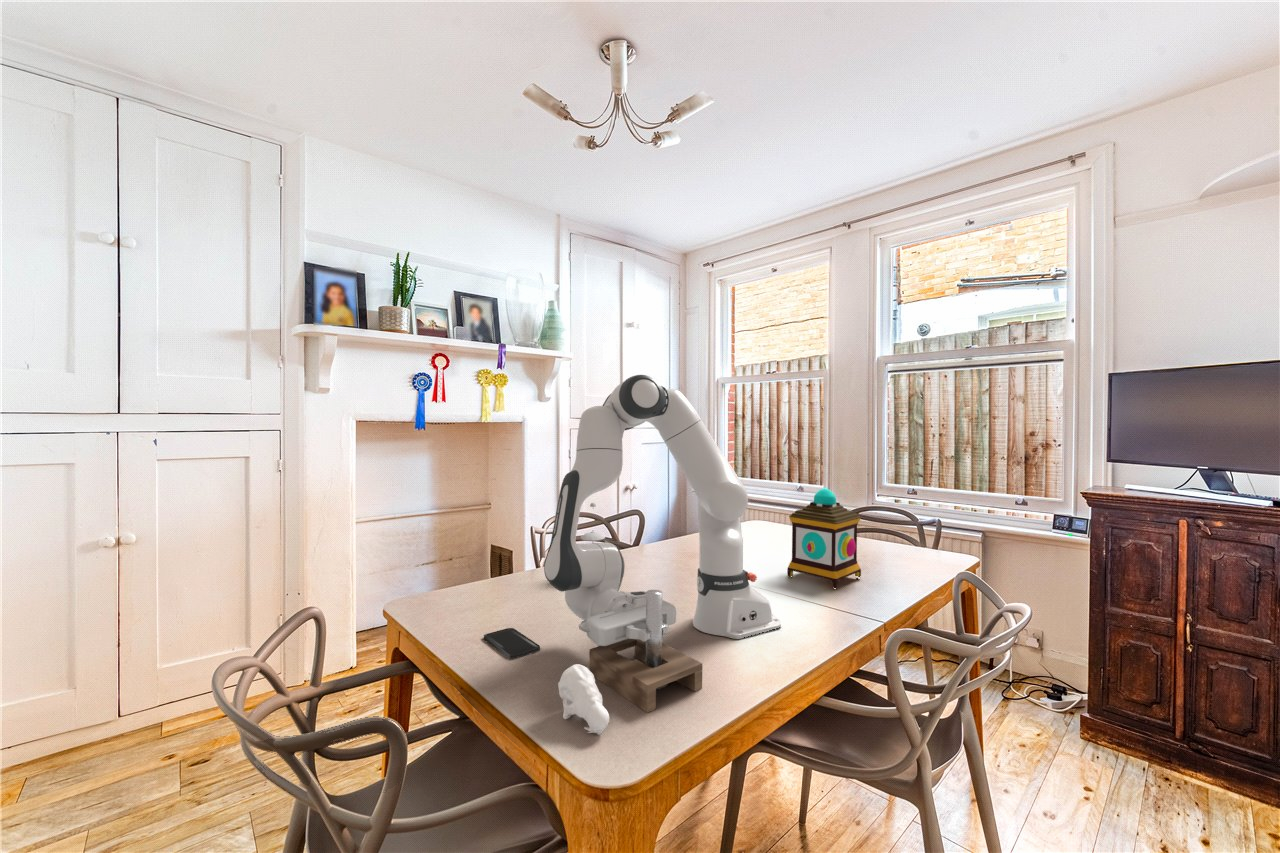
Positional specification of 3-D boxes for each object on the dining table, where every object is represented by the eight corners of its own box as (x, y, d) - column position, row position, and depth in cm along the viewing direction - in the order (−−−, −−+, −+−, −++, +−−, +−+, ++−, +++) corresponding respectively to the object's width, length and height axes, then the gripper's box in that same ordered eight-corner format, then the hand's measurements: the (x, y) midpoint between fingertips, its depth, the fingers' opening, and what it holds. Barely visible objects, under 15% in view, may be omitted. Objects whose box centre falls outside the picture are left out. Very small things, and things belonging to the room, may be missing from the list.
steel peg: (661, 673, 110) (662, 586, 109) (672, 686, 104) (672, 595, 104) (635, 677, 108) (636, 589, 108) (645, 691, 103) (645, 598, 102)
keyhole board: (589, 672, 112) (589, 649, 111) (641, 654, 120) (641, 632, 120) (647, 712, 97) (647, 685, 97) (702, 688, 106) (702, 663, 105)
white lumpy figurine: (586, 656, 100) (621, 689, 90) (584, 699, 101) (618, 736, 91) (556, 665, 96) (589, 700, 87) (553, 709, 97) (586, 749, 87)
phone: (511, 627, 134) (541, 646, 122) (511, 631, 134) (541, 651, 122) (481, 635, 129) (509, 656, 117) (481, 639, 129) (510, 661, 117)
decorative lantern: (781, 577, 178) (781, 487, 177) (811, 566, 192) (812, 482, 191) (838, 592, 163) (839, 494, 163) (867, 579, 177) (868, 488, 176)
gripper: (574, 609, 110) (614, 631, 99) (651, 589, 122) (693, 606, 112) (574, 640, 110) (614, 664, 99) (651, 616, 122) (693, 636, 112)
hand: (657, 633), depth 105 cm, fingers closed on steel peg, 3 cm apart
